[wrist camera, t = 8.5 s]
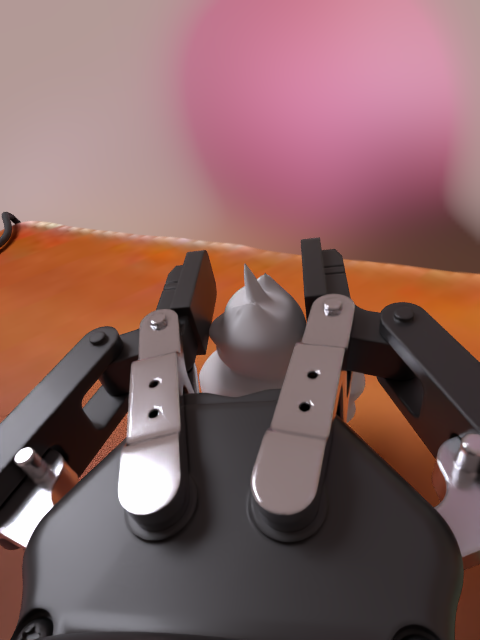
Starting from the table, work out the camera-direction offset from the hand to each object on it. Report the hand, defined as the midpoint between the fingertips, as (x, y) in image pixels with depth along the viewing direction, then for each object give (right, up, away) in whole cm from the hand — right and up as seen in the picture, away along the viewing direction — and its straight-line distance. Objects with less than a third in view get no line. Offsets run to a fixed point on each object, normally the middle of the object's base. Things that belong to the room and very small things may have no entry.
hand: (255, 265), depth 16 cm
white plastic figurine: (+1, -7, +2) cm, 7 cm away
